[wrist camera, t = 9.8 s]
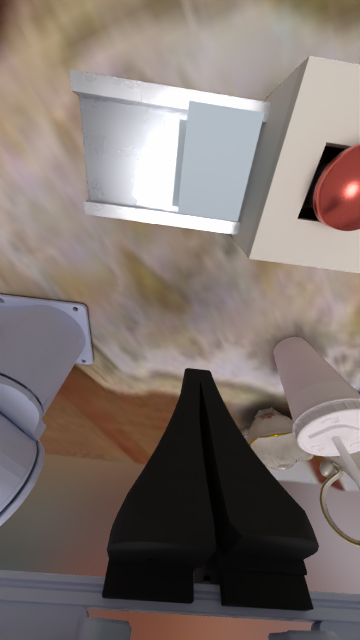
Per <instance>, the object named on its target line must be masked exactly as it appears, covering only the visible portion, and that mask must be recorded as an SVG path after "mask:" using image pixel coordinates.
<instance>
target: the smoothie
mask: <svg viewBox="0 0 360 640" xmlns="http://www.w3.org/2000/svg"><path fill="white" fill-rule="evenodd" d="M273 355H274V358H275V362H276V365H277V368H278V372H279V375H280V379H281V382H282V385H283V389H284V392H285V395H286V399H287V402H288V405H289V409H290V413H291V416H292V419H293V422H294V424H293V428H292V432H293V435H294V437H295V438H296V440H297V443H298V445H299V447H300V448H301V449H303V450H304V451H306V452H308V453H310V454H314V455H319V456H340V455H341V457H342V459H343V461H344V463H345V464H346V466H347V468H348V470H349V472H350V473H351V475H352V477H353V479H354V481H355V482H356V484H357V486H358V488H359V490H360V471H359V469H358V468H357V466H356V464H355V463H354V461H353V459H352V458H351V456H350V454H351V453H355V452H358V451H360V394H359V393H358V392H357V391H356V390H355V389H354V388H353V387H352V386H351V385H350V384H349V383H348V382H347V381H346V380H345V379H344V378H343V377H342V376H341V375H340V374H339V373H338V372H337V371H336V370H335V369H334V368H333V367H332V366H331V365H330V364H329V363H328V362H327V361H326V360H325V359H324V358H323V357H322V356H321V355H320V354H319V353H318V352H317V351H315V350H314V349H313V348H312V347H311V346H310V345H309V344H308V343H307V342H306V341H305V340H304V339H303V338H300V337H289V338H286V339H283V340H282V341H280V342H279V343H278V344H277V345H276V346H275V347H274V350H273Z"/></svg>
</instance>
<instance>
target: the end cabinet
mask: <svg viewBox="0 0 360 640" xmlns="http://www.w3.org/2000/svg"><path fill="white" fill-rule="evenodd" d="M264 102H268V103H271V107H270V111H269V115H268V118H267V122H266V123H265V124H263V125H262V126H261V130H260V134H259V138H258V142H257V146H256V150H255V154H254V158H253V162H252V166H251V170H250V174H249V178H248V182H247V186H246V190H245V194H244V198H243V202H242V207H241V211H240V215H239V219H238V221H239V222H240V223H241V224H240V228H239V232H238V235H235V234H232V235H231V236H232V237H233V239H234V240H235V241H236V243H237V244H238V245H239V246H240V248H241V249H242V250H243V252H244V253H245V254H246V255H247V257H248V258H249V259H255V260H263V261H270V262H278V263H286V264H293V265H301V266H309V267H316V268H324V269H331V270H339V271H347V272H354V273H360V229H358V230H354V231H341V230H337V229H334V228H331V227H329V226H326V225H324V224H323V223H321V222H320V221H319V220H311V219H304V218H298V216H299V213H300V210H301V208H302V205H303V203H304V200H305V197H306V195H307V192H308V189H309V187H310V184H311V182H312V179H313V176H314V174H315V171H316V169H317V166H318V163H319V161H320V158H321V156H322V153H323V150H324V148H325V146H331V147H337V148H344V149H347V148H349V147H351V146H353V145H356V144H359V143H360V65H359V64H354V63H348V62H343V61H337V60H331V59H326V58H320V57H314V56H309V57H308V58H307V59H306V60H305V61H304V62H303V63H302V64H301V65H300V66H299V67H298V68H297V69H296V70H295V71H294V72H293V73H292V74H291V75H290V76H289V77H288V78H287V79H286V80H285V81H284V82H283V83H282V84H281V85H280V86H279V87H278V88H277V89H276V90H275V91H274V92H273V93H271V94H270V95H269V96H268V97H267V98H266V99H265V100H264Z"/></svg>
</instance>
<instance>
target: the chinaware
mask: <svg viewBox="0 0 360 640" xmlns="http://www.w3.org/2000/svg"><path fill="white" fill-rule="evenodd" d="M254 418H256V419H255V420H254V421H253V422H252V424H251V425H250V427H249V430H248V434H246V435H244V438H246V437H247V442H248V444H249V445H250V446H251V448H252V449H253V451H254V452H255V453H256V455H257V456H258V457H259V459H260V460H261V461H262V462H263V464H264V465H265V464H266V465H267V466H269V467H271V468H273V469H278V470H285V469H287V468H290V467H292V466H293V465H294V464H295V463H296V462H297V460H298V461H308V460H310V459H313V458H314V454H310V453H308V452H306V451H304V450H303V449H301V448H300V447H299V445H298V443H297V440H296V438H295V437H294V435H293V432H292V428H293V424H294V422H293V420H291V419H290V418H288V417H286V416H284V415H282V414H280V412H277V411H276V410H274V409H273V407H271V408H270V409H263V410H259V412H258V413H257V415H256V416H255V417H254ZM350 456H351V458H352V459H353V461H354V463H355V464H356V466H357V468H358V469H359V471H360V451H358V452H355V453H351V454H350ZM325 457H327V458H328V459H329V460H331V461H332V462H334V463H335V464H337V465H338V466H339V467H338V466H336V465H334V464H333V463H332V462H331V461H328V460H324V461H323V462H322V463H321V464H320V472H321V474H322V475H323V476H326V477H327V478H328V479H327V480H326V481H325V482H324V483H323V485H322V487H321V491H320V505H321V509H322V512H323V514H324V517H325V519H326V520H327V522H328V524H329V525H330V526H331V528H332V529H333V530H334V531H335V532H336V533H337V534H338V535H339V536H340V537H341V538H342V539H343V540H345V541H346V542H348V543H350V544H352V545H354V546H356V547H359V548H360V541H358V540H355V539H353V538H351V537H349V536H347V535H346V534H344V533H343V532H342V531H341V530H340V529H339V528H338V527H337V526H336V524H335V523H334V522H333V520H332V518H331V517H330V514H329V512H328V509H327V504H326V494H327V491H328V488H329V486H330V485H331V484H332V483H333V482H334V481H335V480H337V479H338V478H340V477H341V476H342V475H343V471H344V472H346V473H347V474H348V475H349V476H350V477H351V478H352V479H353V477H352V475H351V473H350V472H349V470H348V468H347V466H346V464H345V463H344V461H343V459H342V457H341V455H340V456H325ZM296 459H297V460H296ZM335 469H336V470H337V471H338V472H337V473H336V474H335V475H333V474H334V472H335ZM332 475H333V476H332ZM353 480H354V479H353Z"/></svg>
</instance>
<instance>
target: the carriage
mask: <svg viewBox="0 0 360 640" xmlns="http://www.w3.org/2000/svg"><path fill="white" fill-rule="evenodd" d="M263 117H264V112H258V111H252V110H246V109H240V108H234V107H227V106H221V105H215V104H209V103H203V102H197V101H191V100H189V106H188V115H187V120H182V119H180V124H179V135H178V146H177V157H176V168H175V179H174V190H173V200H172V206H176V207H178V211H177V213H178V214H185V215H193V216H200V217H207V218H214V219H221V220H229V221H236V222H238V218H239V214H240V210H241V206H242V202H243V198H244V194H245V190H246V186H247V181H248V177H249V173H250V169H251V165H252V161H253V157H254V153H255V149H256V145H257V141H258V137H259V133H260V129H261V125H262V121H263Z"/></svg>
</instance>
